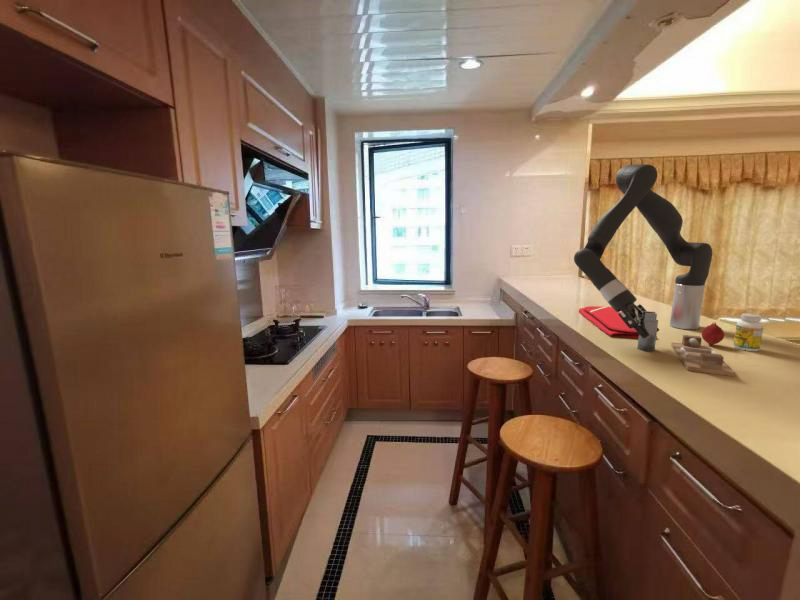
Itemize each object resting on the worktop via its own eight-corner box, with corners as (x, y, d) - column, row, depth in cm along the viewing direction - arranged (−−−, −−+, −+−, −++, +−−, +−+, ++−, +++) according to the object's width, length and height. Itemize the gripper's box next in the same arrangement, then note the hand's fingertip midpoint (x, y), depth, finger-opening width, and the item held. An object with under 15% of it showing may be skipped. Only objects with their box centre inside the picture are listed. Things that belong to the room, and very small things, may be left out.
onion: (726, 348, 121) (730, 324, 119) (706, 347, 122) (709, 324, 120) (715, 342, 126) (718, 320, 125) (696, 342, 127) (699, 319, 126)
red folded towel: (609, 338, 135) (610, 329, 134) (577, 313, 174) (577, 305, 174) (657, 340, 132) (658, 330, 131) (613, 314, 171) (613, 306, 171)
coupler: (636, 346, 125) (640, 310, 122) (653, 347, 123) (657, 311, 120) (638, 350, 120) (642, 313, 118) (655, 352, 118) (660, 314, 116)
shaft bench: (671, 345, 124) (673, 331, 123) (708, 349, 120) (710, 334, 119) (688, 370, 103) (690, 353, 102) (734, 376, 98) (737, 358, 98)
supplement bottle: (765, 351, 117) (771, 317, 115) (746, 352, 117) (751, 317, 115) (746, 345, 123) (751, 312, 121) (727, 345, 123) (732, 313, 121)
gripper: (617, 291, 119) (654, 332, 113) (634, 286, 128) (670, 324, 121) (599, 304, 124) (633, 344, 118) (617, 299, 133) (649, 336, 126)
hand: (651, 334), depth 120 cm, fingers open, 8 cm apart
